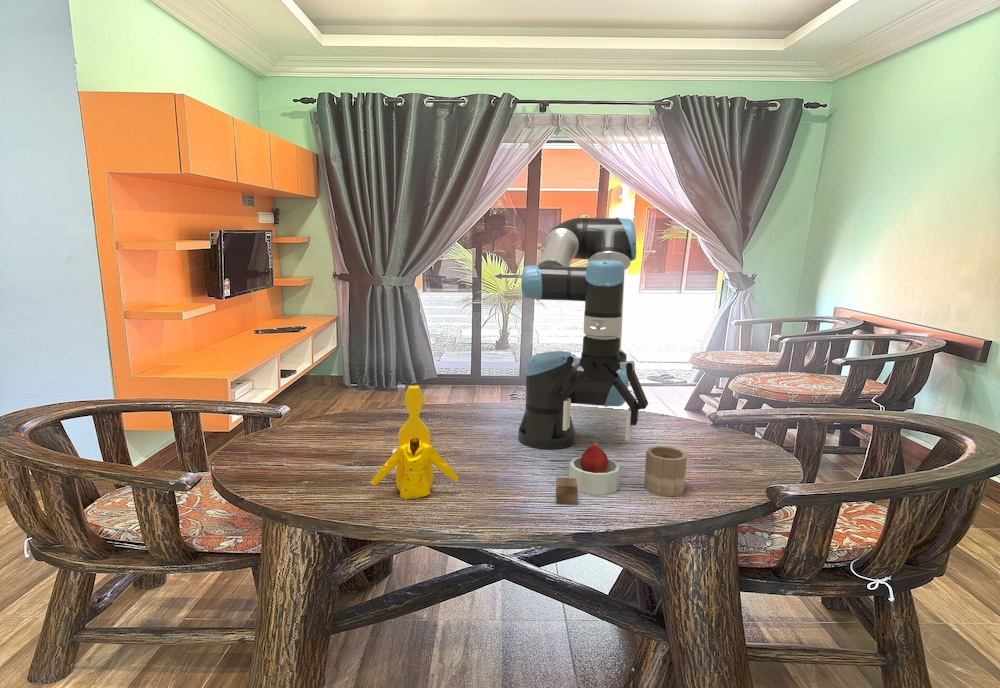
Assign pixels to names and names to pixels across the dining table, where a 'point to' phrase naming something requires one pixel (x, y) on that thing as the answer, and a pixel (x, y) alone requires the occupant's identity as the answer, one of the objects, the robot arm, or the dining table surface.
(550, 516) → the dining table surface
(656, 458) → the canister
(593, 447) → the onion
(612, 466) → the bowl
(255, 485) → the dining table surface
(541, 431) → the robot arm
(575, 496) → the walnut block
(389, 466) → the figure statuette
